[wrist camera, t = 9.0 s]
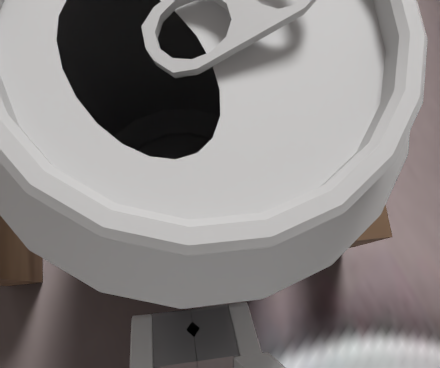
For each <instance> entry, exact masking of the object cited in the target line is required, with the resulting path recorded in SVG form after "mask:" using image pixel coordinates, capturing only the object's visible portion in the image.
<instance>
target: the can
mask: <svg viewBox="0 0 440 368" xmlns="http://www.w3.org/2000/svg"><path fill="white" fill-rule="evenodd" d="M427 40H428V39H427V35H426V32H425V28H424V24H423V21H422V17H421V13H420V9H419V6H418V2H417V0H0V216H1V217H2V218H3V219H4V220H5V222H6V223H7V224H8V225H9V227H10V228H11V229H12V230H13V231H14V233H15V234H16V235H17V236H18V237H19V239H20V240H21V241H22V242H23V244H24V245H25V246H26V247H27V248H28V250H30V251H31V252H33V253H35V254H37V255H38V256H40V257H42V258H43V259H45V260H47V261H48V262H50V263H52V264H53V265H55V266H57V267H58V268H60V269H62V270H63V271H65V272H67V273H69V274H70V275H72V276H74V277H75V278H77V279H79V280H80V281H82V282H84V283H85V284H87V285H89V286H90V287H92V288H94V289H95V290H97V291H99V292H102V293H107V294H111V295H116V296H121V297H126V298H131V299H136V300H140V301H145V302H150V303H155V304H160V305H165V306H169V307H174V308H179V309H187V308H195V307H203V306H211V305H219V304H227V303H235V302H243V301H251V300H259V299H264V298H266V297H268V296H270V295H272V294H274V293H276V292H278V291H280V290H282V289H284V288H286V287H288V286H290V285H292V284H295V283H297V282H299V281H301V280H303V279H305V278H307V277H309V276H311V275H313V274H315V273H317V272H319V271H321V270H323V269H325V268H327V267H329V266H331V265H332V264H333V263H334V262H335V261H336V260H337V259H338V258H339V257H340V256H341V255H342V254H343V253H344V252H345V251H346V250H347V249H348V248H349V247H350V246H351V245H352V244H353V243H354V242H355V241H356V240H357V239H358V238H359V237H360V236H361V235H362V234H363V233H364V232H365V230H366V229H367V228H368V227H369V226H370V225H371V224H372V223H373V222H374V221H375V220H376V219H377V218H378V217H379V216H380V215H381V213H382V211H383V209H384V207H385V205H386V202H387V200H388V198H389V196H390V193H391V191H392V189H393V187H394V185H395V182H396V180H397V178H398V176H399V173H400V171H401V169H402V167H403V165H404V162H405V160H406V158H407V156H408V149H409V136H410V130H411V127H412V125H413V123H414V121H415V119H416V116H417V114H418V112H419V110H420V108H421V106H422V103H423V96H424V82H425V68H426V54H427Z"/></svg>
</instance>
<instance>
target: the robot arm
mask: <svg viewBox="0 0 440 368" xmlns="http://www.w3.org/2000/svg"><path fill="white" fill-rule="evenodd" d="M130 368H285V367H284V366H283V365H282V364H281V363H280V362H278V361H277V360H276V359H275V358H274V357H273V356H272V355H270V354H269V353H268V352H266V353H262V350H261V347H260V344H259V340H258V337H257V333H256V330H255V327H254V323H253V320H252V316H251V313H250V310H249V306H248V304H247V303H246V302H241V303H234V304H228V305H227V304H225V305H218V306H210V307H203V308H196V309H190V310H183V311H173V312H163V313H153V315H152V314H146V315H136V316H133V317H132V321H131V345H130Z"/></svg>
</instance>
